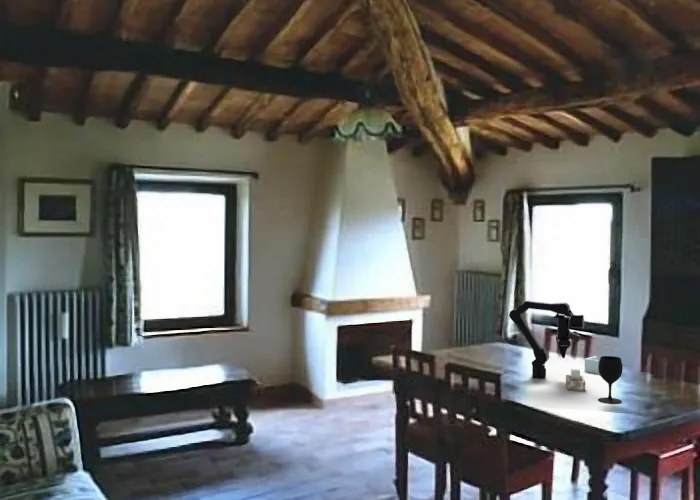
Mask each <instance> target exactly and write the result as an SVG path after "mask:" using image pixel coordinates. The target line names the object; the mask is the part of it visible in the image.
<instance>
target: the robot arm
mask: <svg viewBox="0 0 700 500" xmlns="http://www.w3.org/2000/svg"><path fill="white" fill-rule="evenodd" d="M529 309H531V310H540V311H548V312H549V311H550V312H552V313H555V315H554V316H553V318H554V319H557V328H556V332H557V333H556V334H557V335H556V336H555V342H556V344H557V348H558V350H559V352H560V355H561V358H562V359H565V358H566V354H567V350H568V349H569V348H570V347H571V345H572V344H571V343H572V342H571V340H573V341H575V342H576V343H579V341H580V339H581V335H579V333H578V331H575V330H573V332H572V331H571V330H570V327H571V328H573V329H574V328H577V329H584V328H585V318H584V316H585V315H584V314H574V313H573V311H572V310H571V306H570V304H568V302H554V303H550V302H541V301H532V300H526V301H524V302H523V303H522V304H521V305H520V306H518V307H517V308H514V309H512V310H511V311H509V315H508V316H509V319H511V321H512V322H513V323H514V324H515V325H516V326H518V327H519V330H520V331H521V333H522V334H523V336H524V338H525V339H526V341H527V342H528V343H527V344H529V346H530V347H531V349H532V354H533V355H534V358H535V359H533V361H531V366H532V367H531V368H532V373H531V376H532V377H533V379H546V377H547V368H546V366H545V365H546V363H547V362H548V361H549V360H550V352H549V351H548V350H547V348H546V346H543V347H542V346H541V345H540V343H539V341H538V340H537V339H536V338H537V337H536V336H535V335H534V334H533V332H532V330H531V329H530V327H529V326H528V324H527V323H526V322H527V321H526V319H525V315H524V314H525V312H527V311H528V310H529Z"/></svg>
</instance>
